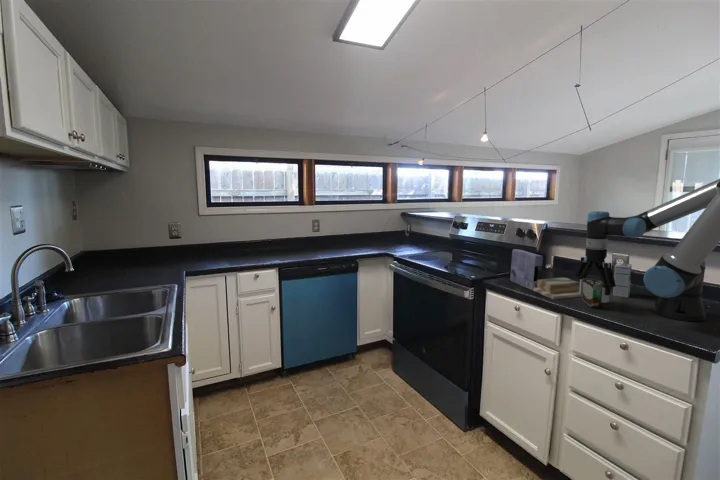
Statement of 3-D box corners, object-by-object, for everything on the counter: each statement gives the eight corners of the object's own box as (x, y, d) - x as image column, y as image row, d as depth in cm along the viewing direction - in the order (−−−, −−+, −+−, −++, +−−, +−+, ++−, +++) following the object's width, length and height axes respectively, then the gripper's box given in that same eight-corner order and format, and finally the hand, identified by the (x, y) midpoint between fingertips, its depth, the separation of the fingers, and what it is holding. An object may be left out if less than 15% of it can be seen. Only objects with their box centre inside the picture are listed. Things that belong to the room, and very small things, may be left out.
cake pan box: (542, 290, 174) (544, 255, 171) (534, 291, 173) (535, 256, 170) (517, 280, 193) (518, 248, 190) (509, 281, 192) (510, 249, 189)
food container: (609, 308, 145) (611, 285, 144) (592, 308, 147) (594, 285, 145) (596, 299, 157) (597, 277, 156) (581, 299, 159) (582, 277, 157)
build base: (588, 296, 163) (589, 284, 162) (552, 299, 160) (553, 287, 159) (561, 285, 180) (561, 274, 180) (528, 288, 178) (529, 277, 177)
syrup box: (628, 297, 159) (631, 266, 157) (612, 295, 163) (614, 264, 161) (629, 294, 163) (632, 264, 161) (614, 292, 167) (616, 262, 165)
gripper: (567, 244, 160) (565, 290, 164) (612, 253, 137) (608, 307, 140) (582, 243, 161) (580, 289, 165) (629, 252, 138) (625, 305, 141)
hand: (593, 297), depth 153 cm, fingers closed on food container, 11 cm apart
